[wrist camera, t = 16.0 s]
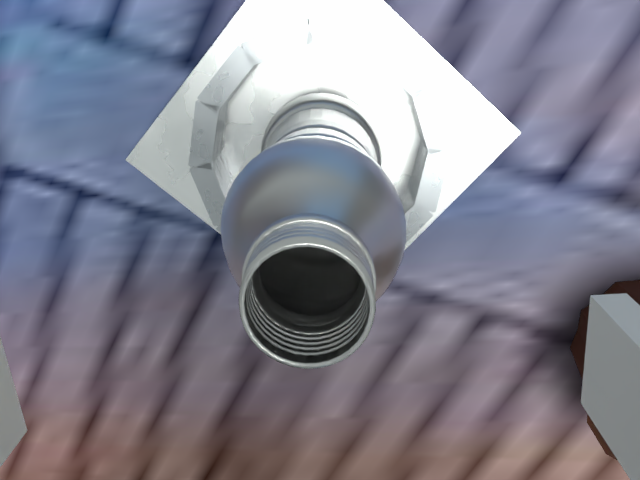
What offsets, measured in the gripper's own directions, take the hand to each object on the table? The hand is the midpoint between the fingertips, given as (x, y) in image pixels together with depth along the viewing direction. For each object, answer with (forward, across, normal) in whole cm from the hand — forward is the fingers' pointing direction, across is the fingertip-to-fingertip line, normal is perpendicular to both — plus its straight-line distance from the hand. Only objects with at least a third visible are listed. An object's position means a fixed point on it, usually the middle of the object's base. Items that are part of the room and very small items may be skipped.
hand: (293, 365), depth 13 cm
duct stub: (+23, 0, 0) cm, 23 cm away
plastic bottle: (+22, 0, 0) cm, 22 cm away
